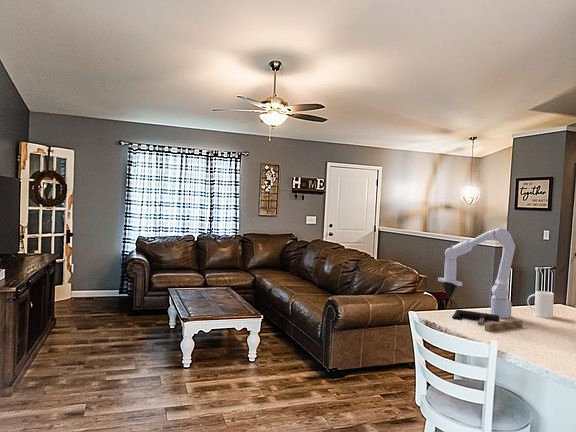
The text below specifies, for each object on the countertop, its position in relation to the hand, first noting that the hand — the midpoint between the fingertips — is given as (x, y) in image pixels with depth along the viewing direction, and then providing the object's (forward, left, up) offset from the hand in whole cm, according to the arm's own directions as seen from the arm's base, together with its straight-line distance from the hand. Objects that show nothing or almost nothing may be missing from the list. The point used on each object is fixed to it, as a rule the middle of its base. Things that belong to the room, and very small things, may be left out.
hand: (449, 297), depth 227 cm
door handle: (0, +17, -8) cm, 19 cm away
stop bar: (0, +32, -7) cm, 33 cm away
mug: (-40, +22, -8) cm, 46 cm away
